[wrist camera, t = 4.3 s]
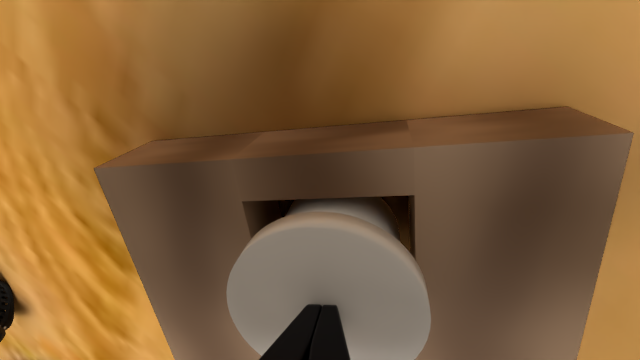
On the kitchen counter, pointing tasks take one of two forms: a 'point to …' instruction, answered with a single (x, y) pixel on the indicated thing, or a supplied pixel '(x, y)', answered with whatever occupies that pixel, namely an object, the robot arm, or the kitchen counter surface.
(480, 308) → the socket board
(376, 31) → the kitchen counter surface
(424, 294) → the grey plug
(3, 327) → the smartwatch
